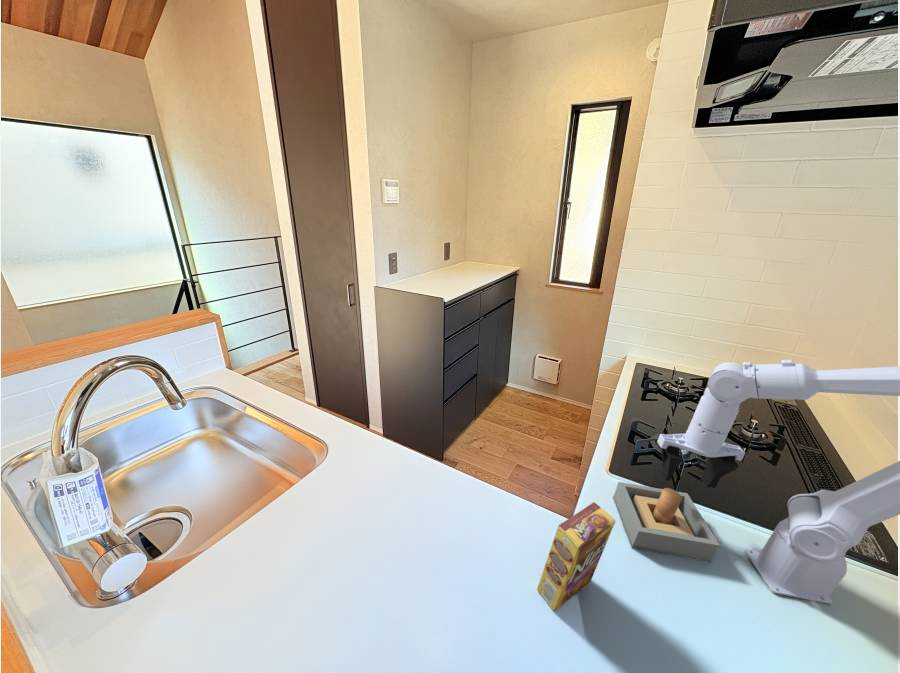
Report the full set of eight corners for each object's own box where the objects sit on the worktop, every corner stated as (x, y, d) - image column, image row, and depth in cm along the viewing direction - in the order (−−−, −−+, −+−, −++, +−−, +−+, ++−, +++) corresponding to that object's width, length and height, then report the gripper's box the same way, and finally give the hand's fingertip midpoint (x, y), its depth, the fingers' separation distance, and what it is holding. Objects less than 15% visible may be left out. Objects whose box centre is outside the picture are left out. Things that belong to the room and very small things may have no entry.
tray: (680, 508, 76) (687, 493, 74) (710, 562, 65) (719, 545, 63) (613, 497, 77) (618, 481, 75) (631, 548, 66) (638, 531, 64)
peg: (663, 519, 72) (676, 489, 69) (670, 533, 69) (684, 502, 66) (647, 516, 72) (659, 486, 69) (653, 530, 69) (667, 499, 66)
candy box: (556, 616, 54) (579, 547, 48) (535, 590, 57) (555, 523, 52) (592, 585, 59) (617, 519, 53) (571, 563, 62) (592, 499, 56)
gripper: (738, 417, 69) (712, 471, 74) (660, 406, 70) (640, 460, 75) (763, 441, 62) (732, 498, 67) (677, 427, 63) (653, 485, 69)
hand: (685, 480), depth 71 cm, fingers open, 7 cm apart
